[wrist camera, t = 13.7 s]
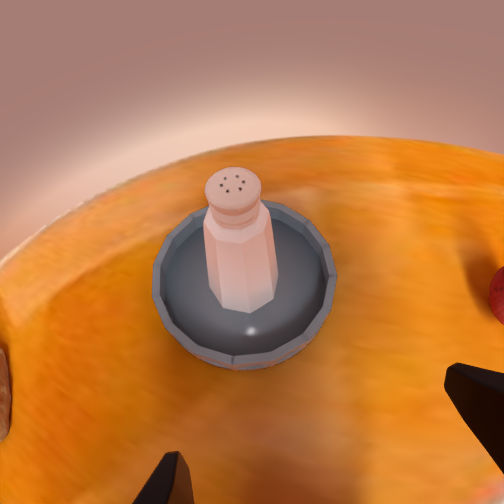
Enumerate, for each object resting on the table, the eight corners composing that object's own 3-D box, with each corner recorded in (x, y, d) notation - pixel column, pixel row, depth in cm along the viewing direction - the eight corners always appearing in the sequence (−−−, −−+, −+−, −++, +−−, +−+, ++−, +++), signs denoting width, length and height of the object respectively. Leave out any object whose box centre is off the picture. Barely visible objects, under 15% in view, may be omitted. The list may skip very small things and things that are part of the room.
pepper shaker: (271, 246, 26) (274, 141, 17) (286, 307, 24) (301, 218, 14) (205, 258, 26) (176, 157, 16) (214, 320, 23) (180, 238, 14)
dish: (309, 391, 21) (314, 387, 19) (135, 338, 23) (123, 328, 21) (341, 234, 28) (347, 217, 26) (196, 203, 30) (191, 185, 28)
